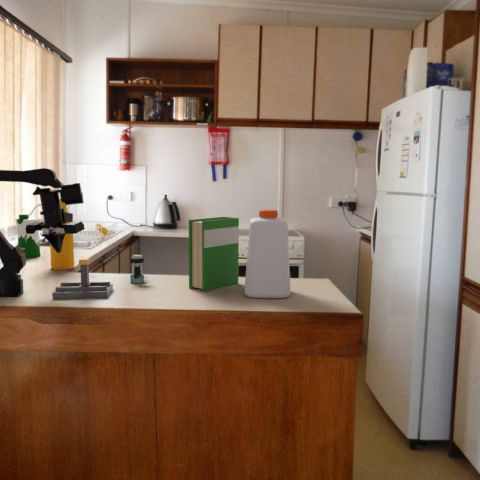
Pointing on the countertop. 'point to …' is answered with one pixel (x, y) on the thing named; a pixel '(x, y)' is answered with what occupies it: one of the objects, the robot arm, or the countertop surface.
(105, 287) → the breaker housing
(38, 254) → the milk carton
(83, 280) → the lever
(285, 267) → the plastic bottle
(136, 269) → the push button
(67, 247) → the beer bottle
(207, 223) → the hardback book
